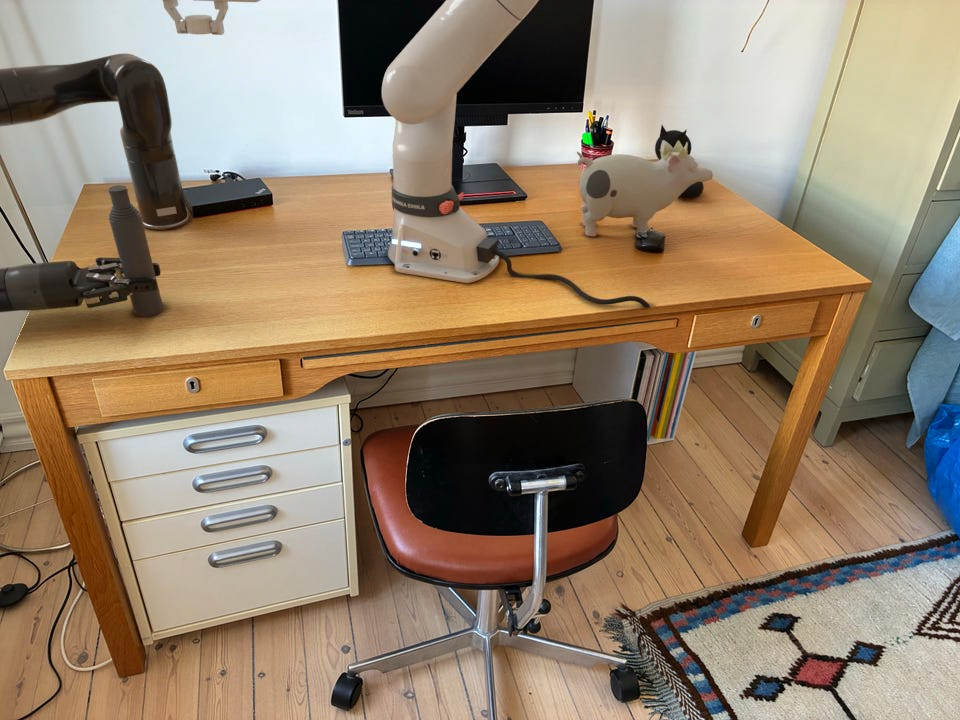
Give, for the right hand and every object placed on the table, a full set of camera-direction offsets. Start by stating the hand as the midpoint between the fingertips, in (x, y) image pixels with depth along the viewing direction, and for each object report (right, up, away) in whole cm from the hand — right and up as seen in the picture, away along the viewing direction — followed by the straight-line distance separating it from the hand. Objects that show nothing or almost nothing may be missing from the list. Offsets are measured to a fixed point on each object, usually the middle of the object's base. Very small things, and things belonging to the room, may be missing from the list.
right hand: (200, 33), depth 107 cm
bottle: (-15, -40, +16) cm, 46 cm away
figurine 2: (+91, -6, +73) cm, 117 cm away
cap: (0, +2, -1) cm, 2 cm away
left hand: (-12, -35, +13) cm, 39 cm away
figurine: (+75, -21, +50) cm, 93 cm away
